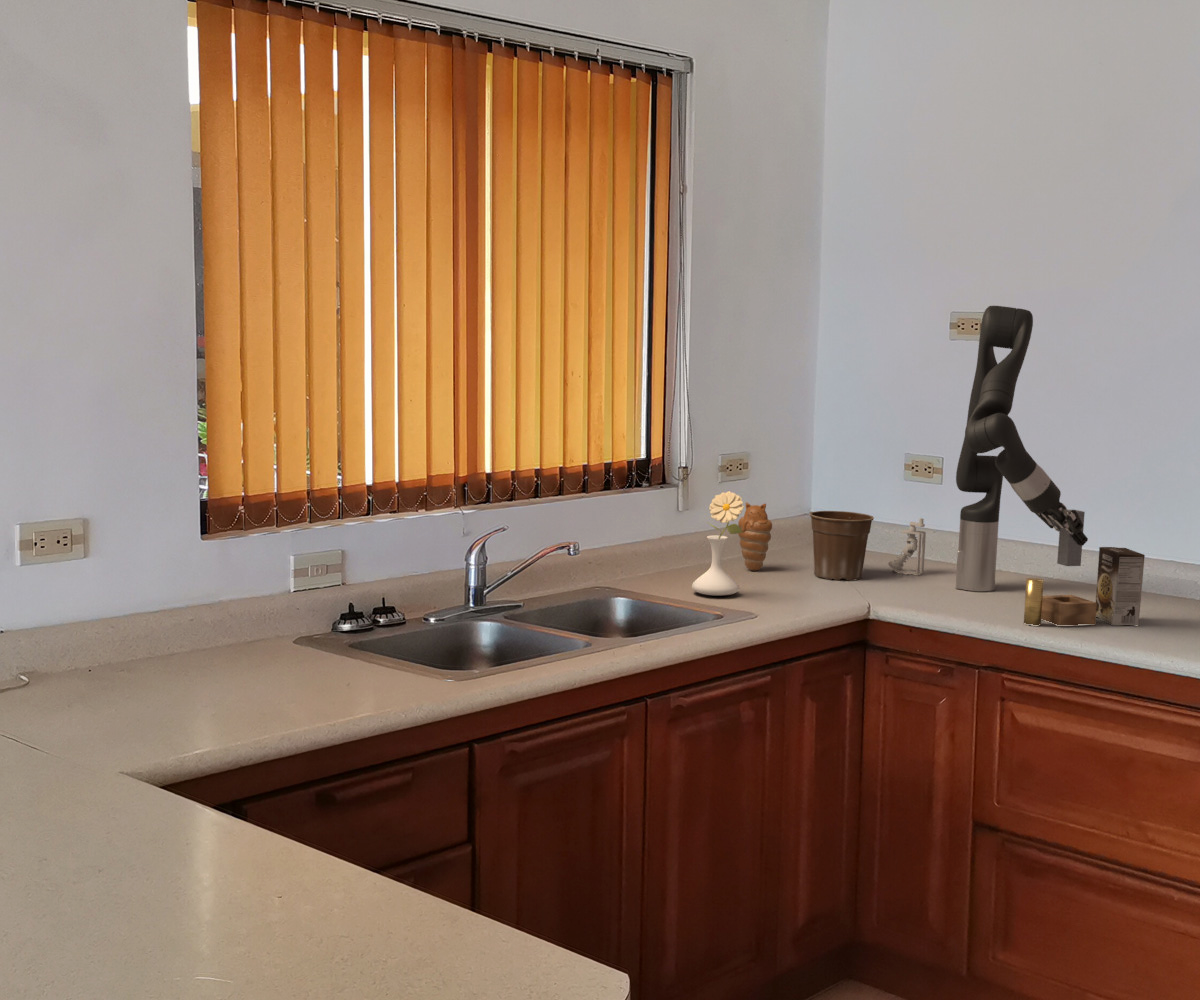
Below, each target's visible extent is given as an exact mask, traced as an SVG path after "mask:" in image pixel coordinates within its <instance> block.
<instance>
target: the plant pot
mask: <svg viewBox="0 0 1200 1000" xmlns="http://www.w3.org/2000/svg"><path fill="white" fill-rule="evenodd" d="M809 516H810V518H811V519H810V520H811V522H810V523H811V530H812V538H813V539H812V541H813V542H812V543H813V545H812V546H813V574H814V575H815V576H816V577H818V578H821V579H824V578H825V579H824V580H829V579H831V580H832V579H834V580H833V581H840V580H842V579H843V580H845V579H846V580H845V581H855V580H854V579H858V580H861V579H862V577H863V570H864V565H865V557H866V550H867V545H868V538H869V534H870V533H871V528H872V521H874V519H875V517H874V516H873V515H869V514H866V513H861V512H854V511H841V510H839V511H838V510H817V511H816V510H815V511H812V512H809Z"/></svg>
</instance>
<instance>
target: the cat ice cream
mask: <svg viewBox="0 0 1200 1000" xmlns="http://www.w3.org/2000/svg"><path fill="white" fill-rule="evenodd" d="M766 509H767V504H766V503H765V502H764V503H763V504H760V505H758V504H756V505H755V504H753V505H751V504H750V503H749V502H745V511H744V515H743V516H742V517H740V518H739V520H738V523H737V525H738V526H739V527H740V529H741V530H742V532H743V533H737V535H738V537H739V538H740V539H739V545H740V548H741V555H742V557H743V559H744V566H745V567H746V568H747V570H750V571H754V572H755V571H759V570H760V569H761V568H762V567H763V565H764V561H765V560H766V557H767V552H768V550H769V542H770V541H771V539H772V534H771V531H772V530H773V523H772V521H771V520H770V519H768V518H769V517H768V514H767V511H766Z"/></svg>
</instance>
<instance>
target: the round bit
mask: <svg viewBox="0 0 1200 1000" xmlns="http://www.w3.org/2000/svg"><path fill="white" fill-rule="evenodd" d="M1025 580H1026V581H1025V592H1024V593H1025V594H1024V595H1025V596H1024V611H1023V612H1024V613H1023V624H1024V623H1026V624H1033V625H1039V624H1041V625H1042V620H1041V615H1042V599H1043V596H1044V583H1045V581H1044V579H1042V578H1037V577H1028V578H1026V579H1025Z"/></svg>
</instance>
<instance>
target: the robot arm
mask: <svg viewBox="0 0 1200 1000" xmlns="http://www.w3.org/2000/svg"><path fill="white" fill-rule="evenodd" d="M1033 316H1034V315H1033V314H1032V312H1031V311H1030V310H1028V309H1025V308H1024V309H1023V308H1017V307H1010V306H1003V305H1002V306H1001V305H989V306H987V308H986V309H985V310H984V311H983V314H982V319H981V324H980V331H979V340H978V348H977V349H978V350H977V351H978V352H977V361H976V367H975V369H976V370H975V373H974V377H973V382H972V388H971V393H970V398H969V403H968V404H969V405H968V411H967V420H966V426H965V431H964V437H963V441H962V442H963V443H962V446H961V451H960V455H959V458H958V461H957V462H958V463H957V468H956V473H955V483H956V487H957V489H959V491H961V492H963V493H980V494H982V493H983V494H984V493H985V496H984V497H983V498H982V499H981V500H979V501H977V502H974V503H971V504H969V505H965V506H963V507H961V510H960V514H959V531H958V532H959V535H958V549H957V556H956V557H957V560H956V578H955V589H957V590H958V589H959V590H965V591H970V592H991V591H995V586H996V574H997V573H996V569H997V554H998V541H999V540H998V539H999V538H998V537H999V535H998V534H999V521H1000V508H1001V497H1002V495H1001V494H1002V489H1003V481H1004V479H1005V480H1006V481H1007V482H1008V484H1009V485H1010V487H1011V489H1012V490H1013V491H1014V493H1016V495H1017V496H1018V497H1019V498H1020V500H1021V501H1022V502H1023V504H1024V505H1025V506H1026V507H1027V509H1029V511H1030V512H1031V513H1034V514H1035V515H1036V516H1037V517H1038V518H1039V519H1040V520H1041V521H1042V522H1044V523H1045V525H1047V526H1048V527H1049V528H1050V529H1054V530H1055V531H1056V532H1058V533H1059V531H1060V527H1061V528H1065V529H1066V530H1067V531H1068V532H1069V534H1071V535H1072V537H1073V538H1074V539H1075V540H1076V542H1077V543H1078V544H1079V545H1081V546H1082V547H1083V546H1084V545H1085V544H1086V543H1088V540H1089V539H1088V537H1087V535H1086V534H1085V533H1084V531H1083V532H1082V531H1081V529H1082V528H1083V529H1084V527H1083V524H1082V521H1081V519H1080V517H1079V515H1078V513H1077V512H1076V511H1075V510H1076V509H1071V510H1072V511H1071V512H1069V511H1068V510H1069V509H1067V506H1066V505H1065V504H1064V503H1063V502H1061V501H1060V498H1061V495H1062V493H1061V490H1060V488H1059V487H1058V486H1057V485H1056V484H1055V482H1054V481H1053V480H1052V478H1051V477H1050V476H1049V475H1048V474H1047V472H1046V471H1045V470H1044V469H1043V467H1041V466H1040V465H1039V464H1038V463H1037V462H1036V461H1035V460H1034V459H1033V457H1032V456H1031V454H1029V452H1028V451H1027V450H1026V448H1025V446H1024V444H1023V441H1022V439H1021V436H1020V434H1019V432H1018V429H1017V426H1016V424H1015V422H1014V420H1013V419H1012V418H1011V416H1009V414H1010V413H1011V411H1012V408H1013V403H1014V397H1015V391H1016V385H1017V383H1018V378H1019V376H1020V372H1021V369H1022V366H1023V364H1024V361H1025V357H1026V355H1027V353H1028V352H1027V351H1028V349H1029V344H1030V340H1031V338H1032V331H1033V327H1034V317H1033ZM994 348H1002V349H1007V350H1008V349H1010V352H1009V353H1008V354H1007V355H1006V357H1004V358H1003V359H1001V361H1000V362H997V358H996V355H995V350H994ZM999 448H1003V450H1001V452H999V453H998V455H983V454H985V453H987V452H991V451H993V450H996V449H999ZM978 454H982V455H978ZM1064 521H1065V522H1064ZM1062 522H1064V523H1062ZM1068 525H1069V527H1070V528H1069V527H1068Z"/></svg>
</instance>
